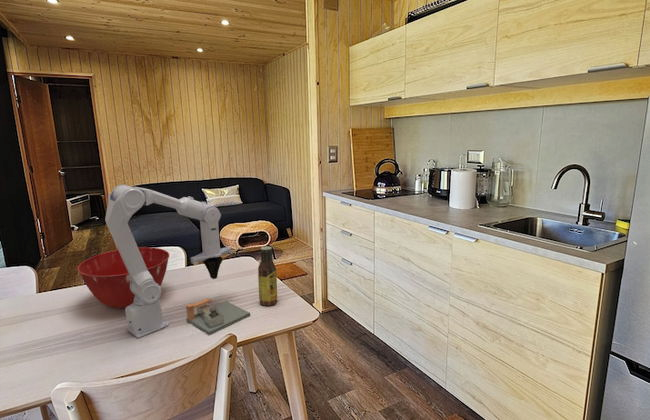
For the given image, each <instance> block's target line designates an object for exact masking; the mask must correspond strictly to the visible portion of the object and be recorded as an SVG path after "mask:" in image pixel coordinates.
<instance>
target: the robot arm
mask: <svg viewBox="0 0 650 420" xmlns="http://www.w3.org/2000/svg"><path fill="white" fill-rule="evenodd" d="M107 199H108V201H107V202H108V203H107V208H106V213H105V219H104V220H105V223H106V226H107V229H108V230H109V233H110V234H111V237H112V240H113V243H114V244H115V245H116V246H115V247H116V248H117V250H118V251H119V253H120V255H121V257H122V259H123V262H124V264H125V266H126V268H127V271H128V273H129V279H130V290H131V292H132V293H133V294H135V297H134V302H133V303H132V304H131V305H129V306H127V307H126V308H124V309H125V318H126V319H125V320H126V326H127V327H126V330H127V331H128V332H129V333H130V334H132V335H133V336H134V337H136V338H137V339H138V338H141V337H144V336H146V335H149V334H150V333H151V334H152V333H153V332H156V331H158V330H161V329H163V328H165V327H168V326H169V323H168V322H167V321H166V320H164V318H163V312H162V305H161V303H162V302H161V296H162V293H163V292H162V291H163V290H162V287H161V286H160V285H158V284H157V283H156V282H155V281H154V279H153V277H152V276H151V274H150V273H149V271H148V270H147V267H146V265H145V263H144V260H143V258H142V256H141V253H140V251H139V249H138V248H139V246H138V244H137V242H136V240H135V237H134V234H133V233H132V230H131V228H130V226H129V221H130V220H131V218H132V216H133V215H134V214H135V213H137V212H138V211H139V210H140V209H141V208H142V207H143V206H149V205H152V204H157V205H161V206H164V207H168V208H172V209H175V210H176V212H177V214H178V215H181V216H184V217H187V218H190V219H195V220H199V223H200V224H199V227H200V237H201V247H202V248H201V249H202V252H200V253H199V254H197V255H195V256H191V257H190V263H191V264H192V265H197V264H198V263H201V262H202V263H203V265H204V266H205V267H206V269H207V271H208V273H209V277H210V279H211V280H215V279H218V276H219V270H220V267H221V264H222V262H223V260H224V259H223V257H222V256H224V255H226V254H232V247H230V246H225V247H221V245H220V244H221V243H220V230H219V228H220V227H219V221H220V220H221V217H222V213H220V210H219V209H218V208H217V206H214V205H212V204H207V202H206V201H198V200H195V199H194V197H192V196H187V197H186V196H183V197H181V198H179V199H178V198H176V197H172V196H170V195H167V194H164V193H161V192H158V191H156V190H153V189H148V188H145V187H138V186H130V185H129V184H119V185H117V186H115V187H113V189H112V191H111V192H110V194H109V195H108V196H107Z"/></svg>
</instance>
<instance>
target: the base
mask: <svg viewBox="0 0 650 420" xmlns="http://www.w3.org/2000/svg"><path fill="white" fill-rule="evenodd" d="M216 310H218V311H219V312H220V313H222V314H223V315H224V323H221V324H219V325H216V326H213V327H209V326H208V325H207V324H206V323H205V322H204V318H202V317H201V316H200V315H199V314H198V313H197V312H196V313H194V315H195V319H193V320H189V319H188V318H187V317H186V319H185V320H186V322H188V323H189V324H191V325H192V326H193V327H194V326H195V328H197V329H199V330H200V331H201V332H202V331H203V332H204V333H205V334H207V335H208V336H210V335H213V334H214V333H218V332H220V331H221V330H222V329H225V328H228V327H229V326H231V325H233V324H235V323H238V322H240V321H242V320H244V319H246V318H249V317H250V316H251V312H249V311H248V310H245V309H243V308H241V307H239V306H237V305H235V304H233V303H231V302H229V301H224V302H221V303H218V304H217V305H215V306H212V307H211V308H210V312H211V317H214V316H216Z"/></svg>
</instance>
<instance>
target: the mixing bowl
mask: <svg viewBox="0 0 650 420" xmlns="http://www.w3.org/2000/svg"><path fill="white" fill-rule="evenodd" d="M138 249H139V251H140V253H141V256H142V258H143V260H144V263H145V265H146V267H147V270H148V271H149V273H150V274H151V276H152V277H153V279H154V281H155V282H156V283H157V284H158V285H160V287H161V286H162V283H163V281H164V278H165V275H166V272H167V267H168V263H169V258H170V253H169V251H167V250H165V249H162V248H159V247H158V248H157V247H150V246H149V247H148V246H147V247H146V246H145V247H139V246H138ZM77 272H78V273H79V274H80V276H81V278H82V280H83V281H84V284H85V286H86V287H87V288H88V290H89V291H90V293H91V294H92V295H93V296H94V298H95V299H96V300H98V301H99V302H100V303H101V304H103V305H104V306H107V307H110V308H113V309H117V310H118V309H119V310H121V309H126V307H127V306H129V305H131V304H132V303H133V302H134V297H135V294H133V293H132V292H131V290H130V279H129V273H128V271H127V268H126V266H125V264H124V262H123V259H122V257H121V255H120V253H119V251H118V249H116V250H111V251H107V252H103V253H99V254H96V255H93V256H91V257H89V258H87V259H85V260H83V261H82V262H81V263H79V265H78V266H77Z"/></svg>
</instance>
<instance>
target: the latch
mask: <svg viewBox="0 0 650 420" xmlns="http://www.w3.org/2000/svg"><path fill="white" fill-rule="evenodd" d="M210 308H212V307H211V306H210V305H209V304H208V303H207V304H205V305H202V306H200V307H198V308H196V314H197V313H198V314H199V315H200V316H201V317H202V318H204V322H205V323H206V324H207V325H208V326H209V327H213V326H216V325H219V324H221V323H224V315H223V314H222V313H220V312H219V311H218V310H216V316H214V317H211V312H210Z"/></svg>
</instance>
